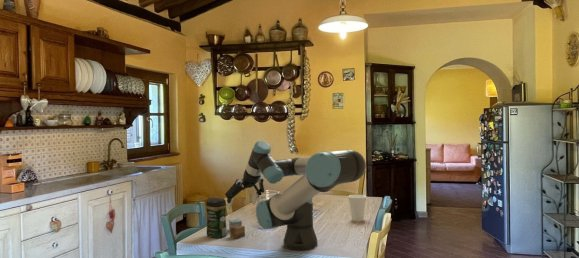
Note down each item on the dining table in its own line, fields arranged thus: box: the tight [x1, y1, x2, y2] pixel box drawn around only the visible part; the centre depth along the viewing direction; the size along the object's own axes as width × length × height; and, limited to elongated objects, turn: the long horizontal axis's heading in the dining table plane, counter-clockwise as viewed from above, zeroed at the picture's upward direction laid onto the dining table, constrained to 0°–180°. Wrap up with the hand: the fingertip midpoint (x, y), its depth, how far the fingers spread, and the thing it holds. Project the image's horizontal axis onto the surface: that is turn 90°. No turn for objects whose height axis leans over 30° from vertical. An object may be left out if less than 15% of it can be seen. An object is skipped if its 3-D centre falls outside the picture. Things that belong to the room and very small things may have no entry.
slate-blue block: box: [228, 218, 243, 231], centre depth 204 cm, size 5×5×5 cm
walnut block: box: [229, 225, 246, 240], centre depth 192 cm, size 5×5×5 cm
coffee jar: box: [205, 197, 228, 239], centre depth 194 cm, size 10×8×19 cm
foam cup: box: [348, 194, 367, 222], centre depth 218 cm, size 10×9×13 cm
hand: (240, 204), depth 192 cm, fingers open, 13 cm apart
